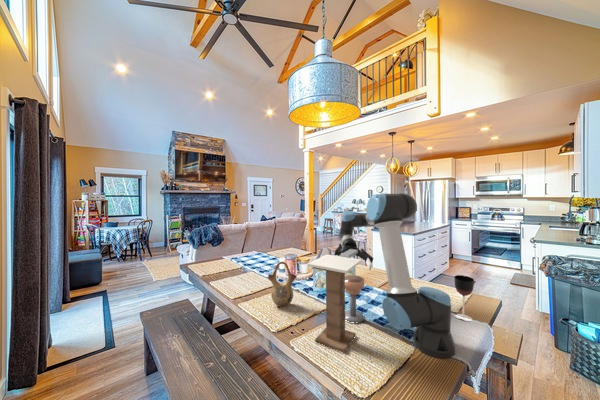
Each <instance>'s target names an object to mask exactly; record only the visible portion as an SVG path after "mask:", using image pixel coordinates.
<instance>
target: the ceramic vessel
mask: <svg viewBox="0 0 600 400" xmlns="http://www.w3.org/2000/svg"><path fill="white" fill-rule="evenodd" d="M280 265H284V266H285V268H286V270H287V276H288V277H287V280H286V281H285V282H279V281H278V280H277V271H278V268H279V266H280ZM297 277H298V276H297V275H295V274H292V273H291V270H290V269H289V266H288V264H287V263H286V262H285V261H280V262H278V263H277V264H276V266H275V267H274V271H273V273H272V274H270V275H269V276H267V280H269V281H270V282H271V284H272V290H271V300H272V301H273V303H274V304H275V305H276V306H277V307H279V308H285V307H288V306H289V305H290V304H291V303H292V301H293V299H294V290H293V285H292V284H293V283H294V281H295V280H296V279H297Z"/></svg>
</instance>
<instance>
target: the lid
mask: <svg viewBox="0 0 600 400" xmlns="http://www.w3.org/2000/svg"><path fill="white" fill-rule="evenodd" d="M357 253H358V250H354V249H349V250H348V251H346V252H344V253H342V254H340V255H339V256H338V255H334V254H324V255H322V256H320V257H318V258H316V259H315V260H313V261H310V262H309V263H307V267H310V268H313V267H315V268H320V269H326V270H331V271H336V272H341V273H345V274H348V273H349V272H350V271H352V270H354V268H355V267H357V266H359V264H361V263H362V260H363V259H359V258H354V256H356V255H355V254H357ZM315 268H314V269H315ZM320 269H319V270H320Z"/></svg>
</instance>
